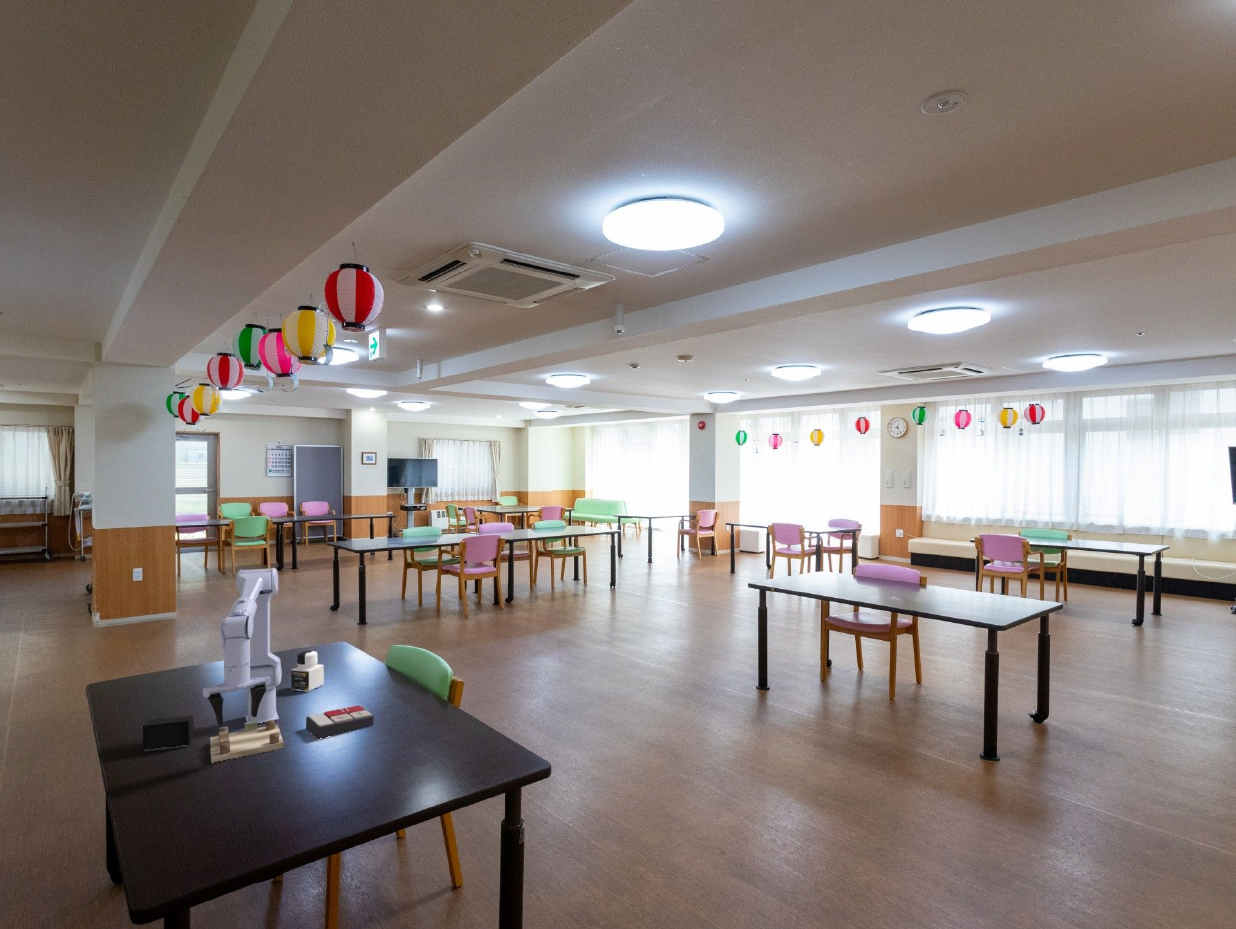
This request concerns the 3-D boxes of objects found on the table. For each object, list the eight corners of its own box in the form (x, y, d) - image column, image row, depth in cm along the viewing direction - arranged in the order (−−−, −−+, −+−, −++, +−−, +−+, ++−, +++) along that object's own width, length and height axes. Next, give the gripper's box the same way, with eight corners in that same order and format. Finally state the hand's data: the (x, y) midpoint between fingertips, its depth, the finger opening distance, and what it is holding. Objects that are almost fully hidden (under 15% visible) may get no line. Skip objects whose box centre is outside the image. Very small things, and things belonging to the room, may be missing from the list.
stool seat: (210, 743, 177) (210, 729, 177) (277, 729, 186) (277, 717, 186) (211, 763, 165) (211, 749, 165) (283, 748, 173) (283, 734, 173)
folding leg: (218, 737, 177) (218, 727, 177) (228, 735, 178) (228, 725, 178) (219, 750, 169) (219, 740, 169) (229, 748, 170) (229, 738, 170)
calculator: (374, 713, 188) (318, 724, 178) (373, 729, 188) (317, 741, 178) (360, 703, 196) (305, 713, 187) (360, 718, 196) (305, 729, 186)
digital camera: (195, 739, 181) (195, 713, 181) (189, 747, 175) (189, 720, 175) (150, 744, 177) (150, 718, 177) (143, 753, 172) (142, 725, 172)
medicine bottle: (290, 691, 219) (290, 654, 219) (306, 684, 226) (306, 648, 226) (308, 692, 217) (308, 655, 217) (324, 685, 224) (323, 649, 224)
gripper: (208, 673, 160) (208, 731, 159) (273, 661, 170) (273, 716, 169) (200, 668, 165) (200, 724, 164) (264, 657, 175) (264, 710, 174)
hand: (237, 720), depth 167 cm, fingers open, 7 cm apart
